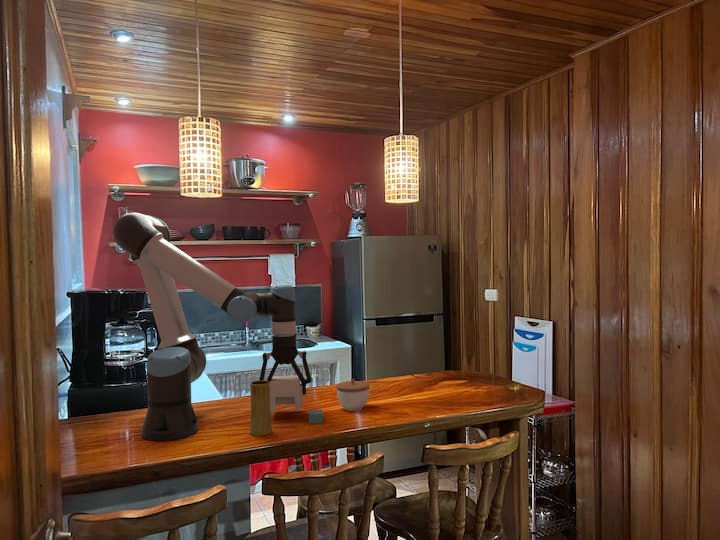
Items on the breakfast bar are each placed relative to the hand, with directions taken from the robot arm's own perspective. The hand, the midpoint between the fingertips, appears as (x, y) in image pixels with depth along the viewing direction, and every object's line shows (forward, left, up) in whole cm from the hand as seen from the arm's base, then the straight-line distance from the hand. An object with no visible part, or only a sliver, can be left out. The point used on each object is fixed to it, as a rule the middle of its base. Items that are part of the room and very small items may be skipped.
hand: (286, 405), depth 162 cm
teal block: (+12, +2, -3) cm, 12 cm away
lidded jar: (+11, +19, -3) cm, 22 cm away
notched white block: (0, 0, 0) cm, 0 cm away
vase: (+8, -15, -3) cm, 17 cm away
